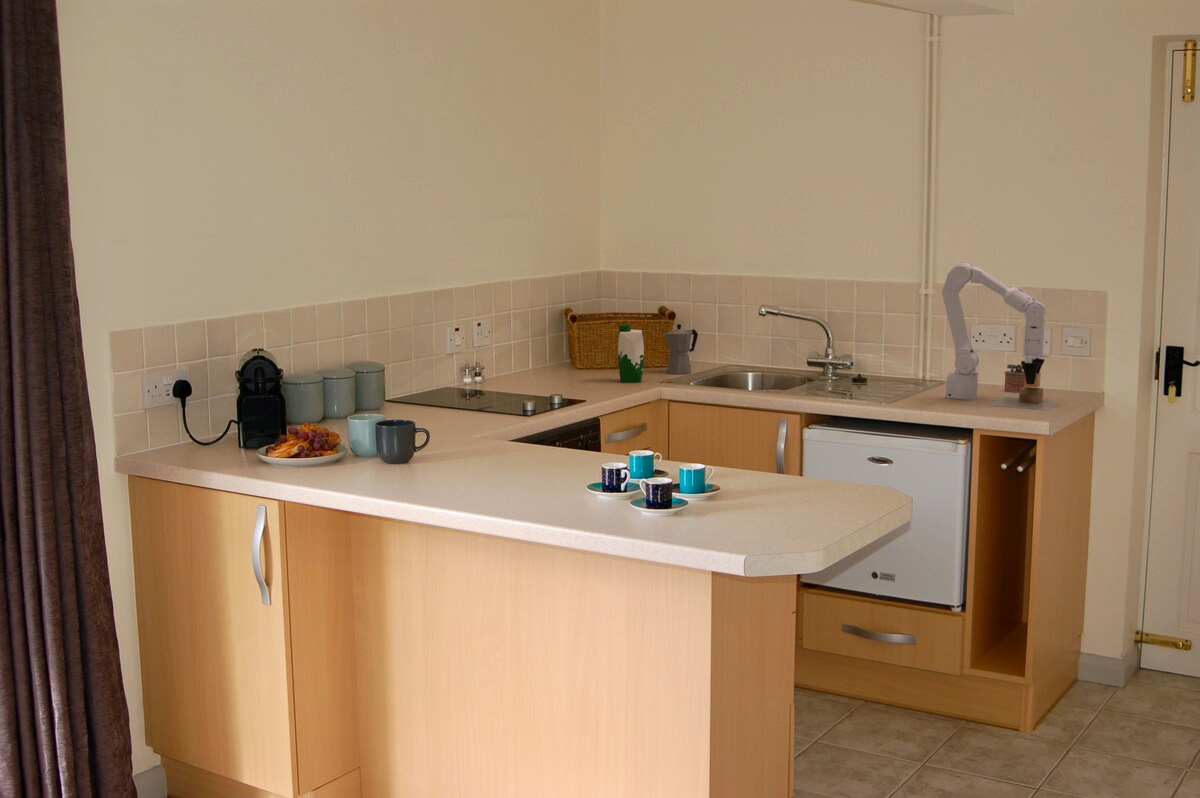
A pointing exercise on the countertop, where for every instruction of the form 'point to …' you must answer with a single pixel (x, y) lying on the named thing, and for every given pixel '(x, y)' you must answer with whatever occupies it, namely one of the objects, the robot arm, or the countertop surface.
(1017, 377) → the lighter
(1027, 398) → the base brick
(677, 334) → the coffeepot
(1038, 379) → the top brick
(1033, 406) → the baseplate
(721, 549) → the countertop surface
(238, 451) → the countertop surface
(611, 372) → the countertop surface
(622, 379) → the milk carton
